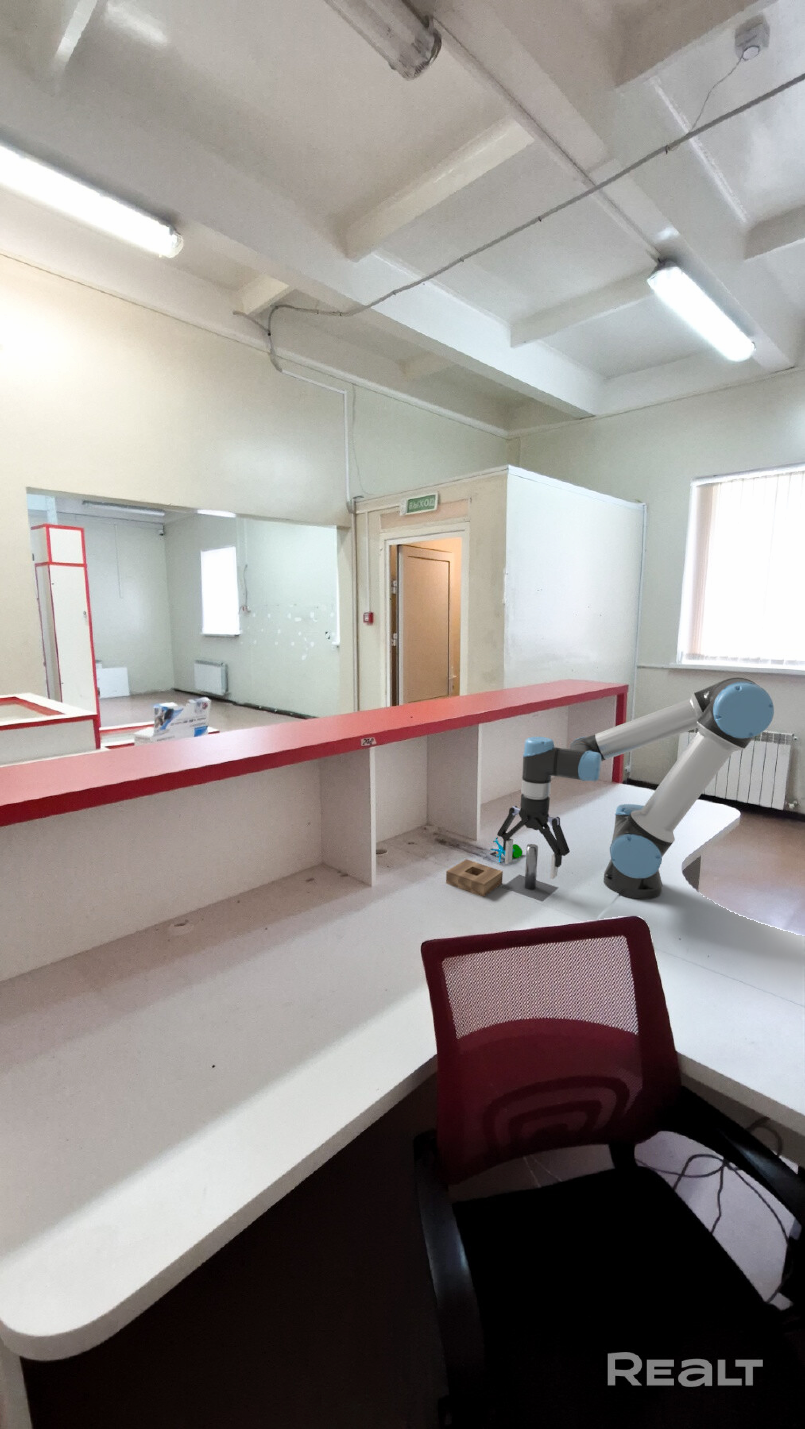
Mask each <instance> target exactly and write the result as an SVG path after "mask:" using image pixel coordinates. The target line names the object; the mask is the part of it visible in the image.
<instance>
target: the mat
mask: <svg viewBox="0 0 805 1429" xmlns="http://www.w3.org/2000/svg"><path fill="white" fill-rule="evenodd" d="M501 888H503V889H505V890H508V891H511V892H514V893H517V894H520V895H523V896H526V897H528V898H531V899H534V900H536V901H539V902H544V900H546V899H547V898H548V897H549V896H550V895H552V894H553V893H554V892H555V891H556V890H558V889H559V887H558V886H555V885H552V884H548V883H546V882H543V881H539V880H537V879H536V889H534V890H528V889H526V888H525V875H522V874H518V875H517V876H515V877H513V878H512V879H511V880H510V881H508V882H507V883H505V884H504V885H503V886H501Z"/></svg>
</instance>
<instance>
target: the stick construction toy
mask: <svg viewBox="0 0 805 1429" xmlns="http://www.w3.org/2000/svg"><path fill="white" fill-rule="evenodd" d="M498 839H499V836H497V837H495V840H493V841H492V842H493V843H495V844H496V845H497V848H493V847H492V848H490V851H493V852H491V853H489V855H491V856H494V857H495V858H497V857H498V863H501V864H502V860H501V858H502V855H503V856H504V857H505V851H504V850H503V845H501V843H500V842H499V840H498ZM523 854H524V853H523V849H522V848H521V846H520V845H519V844H516V843H513V851H512V860H513V859H519V858H521V857H522V856H523Z"/></svg>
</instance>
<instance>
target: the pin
mask: <svg viewBox="0 0 805 1429" xmlns="http://www.w3.org/2000/svg"><path fill="white" fill-rule="evenodd" d="M538 853H539V845H537V844H534V843H528V844H527V845H526V856H525V857H526V858H525V871H524V872H525V875H524V876H525V888H526V889H528V890H534V889H536V880H537V872H538V859H539V858H538V857H539V854H538Z"/></svg>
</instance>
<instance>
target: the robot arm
mask: <svg viewBox="0 0 805 1429" xmlns="http://www.w3.org/2000/svg"><path fill="white" fill-rule="evenodd" d="M774 708H775V707H774V703H773V699H772V697H771V696H770V694H769V693H768V692H767V690H765V689H764V688H763V687H761V686H760V685H759V684H757V683H755V681H753V680H750V679H748V678H744V677H730V678H725V679H724V680H721V681H718V682H717V683H714V684H712V685H710V686H708V687H705V688H703V689H701V690H698V691H695V692H694V693H692V694H691V696H690V698H688V699H686V700H683V701H680V702H677V703H675V704H673V705H670V706H667V707H665V708H662V709H659V710H656V711H654V712H651V713H648V714H645V715H643V716H640V717H637V718H634V719H632V720H629V721H627V722H624V723H622V724H619V725H616V726H614V727H610V728H608V729H606V730H602V731H600V732H597V733H595V734H592V735H590V736H589V735H588V736H581V737H578V738H576V739H574V741H573V742H571V744H570V745H569V748H561V747H558V746H555V742H554V740H553V739H552V738H548V737H545V736H531V737H528V738H527V739H525V741H524V747H523V748H524V749H523V754H522V755H523V756H522V775H521V776H522V778H521V789H520V793H521V795H520V808H518V806H517V805H513V806H511V807H510V808H509V809H508V814H507V817H506V818H505V820H504V822H503V823H502V824H501V827H500V828H499V829H498V832H497V833H496V834H497V837H498V838H499V837H500V838H502V839H503V840H502V842H503V843H502V844H503V845H502V847H503V850H504V851H505V856H504V864H506V865H508V864H509V863H511V862H512V861H513V859H512V851H513V844H514V839H513V838H512V837H513V836H514V835H515V834H516V833H517V832H518V831H520V830H521V829H522V828H523V827H526V828H527V829H531V830H534V831H539V833H540V834H541V835H542V836H543V837H544V839H545V840H546V842H547V844H548V847H550V849H551V850H552V853H553V854H552V855H551V861H550V862H551V863H550V874H549V877H550V879H551V880H554V879H555V878H556V877H557V876H558V873H559V872H558V869H559V868H560V867H561V866H562V862H563V860H562V858H563V857H565V856H567V855H568V854H569V853H570V848H569V845H568V843H567V840H566V837H565V834H564V832H563V830H562V827H561V818H560V816H555V817H554V816H550V815H549V811H550V799H551V798H550V795H551V788H552V787H551V785H552V784H551V783H552V777H558V778H562V779H563V778H565V779H571V780H579V781H582V782H587V781H588V782H597V781H598V780H599V778H600V776H601V775H600V774H601V767H602V762H603V761H606V760H609V759H612V758H614V757H618V756H621V755H623V754H627V753H629V752H632V751H635V750H638V749H640V748H644V747H646V746H649V745H652V744H655V743H659V742H661V741H663V740H666V739H669V738H673V737H675V736H678V735H681V734H685V733H686V732H689V731H693V730H696V729H698V731H697V732H696V734H695V735H694V736H693V738H692V739H691V741H690V742H689V743H688V745H687V746H686V747H685V749H684V750H683V752H682V753H681V754H680V756H679V757H678V759H677V760H676V761H675V763H674V764H673V765H672V767H671V768H670V770H669V771H668V773H667V774H666V775H665V777H664V778H663V779H662V781H661V782H660V783H659V785H658V786H657V788H656V789H655V791H654V792H653V793H652V795H651V796H650V797H649V798H648V799H647V802H646V803H645V804H644V805H642V804H633V803H624V804H623V803H622V804H620V805H618V806H617V807H616V809H615V810H616V811H615V813H614V816H615V818H614V819H615V821H614V828H613V834H612V840H611V844H610V846H609V854H610V860H609V862H608V864H607V866H606V868H605V870H604V874H603V884H604V885H605V886H606V887H607V889H609V890H611V891H612V892H614V893H617V894H618V895H621V896H622V897H627V898H632V899H638V900H639V899H640V900H648V899H655V898H658V897H659V896H660V895H661V894H662V892H663V880H662V877H661V873H660V868H661V865H662V862H663V856H664V855H665V854H666V853H667V852H668V850H669V849H670V848H671V846H672V844H673V843H674V842H675V841H676V838H675V835H674V830H675V829H676V828H677V826H679V824H680V823H681V821H682V820H683V819H684V818H685V816H687V814H688V812H689V811H690V809H692V806H694V804H695V803H696V801H697V800H698V799H699V798H700V796H701V795H702V793H703V792H704V791H705V790H706V788H707V787H708V786H709V785H710V783H711V782H712V781H713V779H714V778H715V777H716V775H717V774H718V773H719V771H720V770H721V769H722V767H724V765H725V763H726V762H727V761H728V759H729V758H730V757H731V755H732V754H733V753H734V752H737V751H742V750H743V751H744V750H746V748H747V747H748V745H749V744H750V743H751V742H752V740H753V739H754V737H756V736H759V735H760V734H762V733H763V732H765V731H766V730H767V729H768V728H769V726H770V725H771V723H772V721H773V719H774V714H775V709H774ZM516 816H519V818H520V819H521V820H520V821H518V822H517V824H516V825H514V826H513V827H512V828H511V829H510V830H509V831H508V829H509V828H510V826H511V824H512V823H513V821H514V819H515V817H516ZM548 823H549V824H548ZM549 825H550V826H551V827H552V828H551V827H550V826H549ZM551 829H552V831H553V832H552V831H551ZM507 831H508V832H507Z"/></svg>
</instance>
